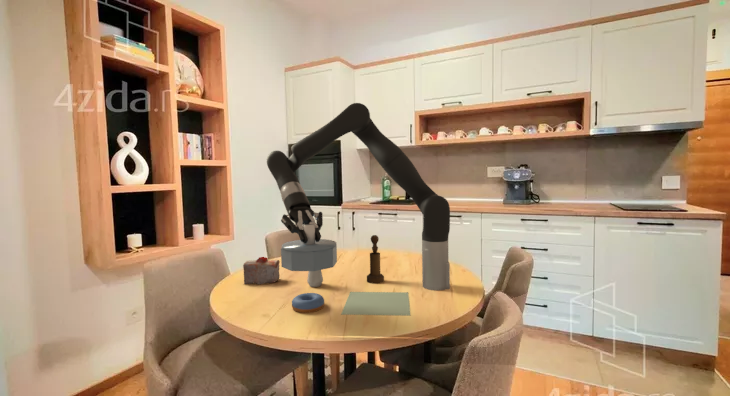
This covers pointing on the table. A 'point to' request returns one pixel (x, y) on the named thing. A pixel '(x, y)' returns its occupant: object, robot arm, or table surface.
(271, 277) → the food item
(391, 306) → the rubber mat
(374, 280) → the dark brown tall piece
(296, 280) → the table surface
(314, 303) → the doughnut
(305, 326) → the table surface
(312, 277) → the salt shaker
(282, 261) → the food cover
